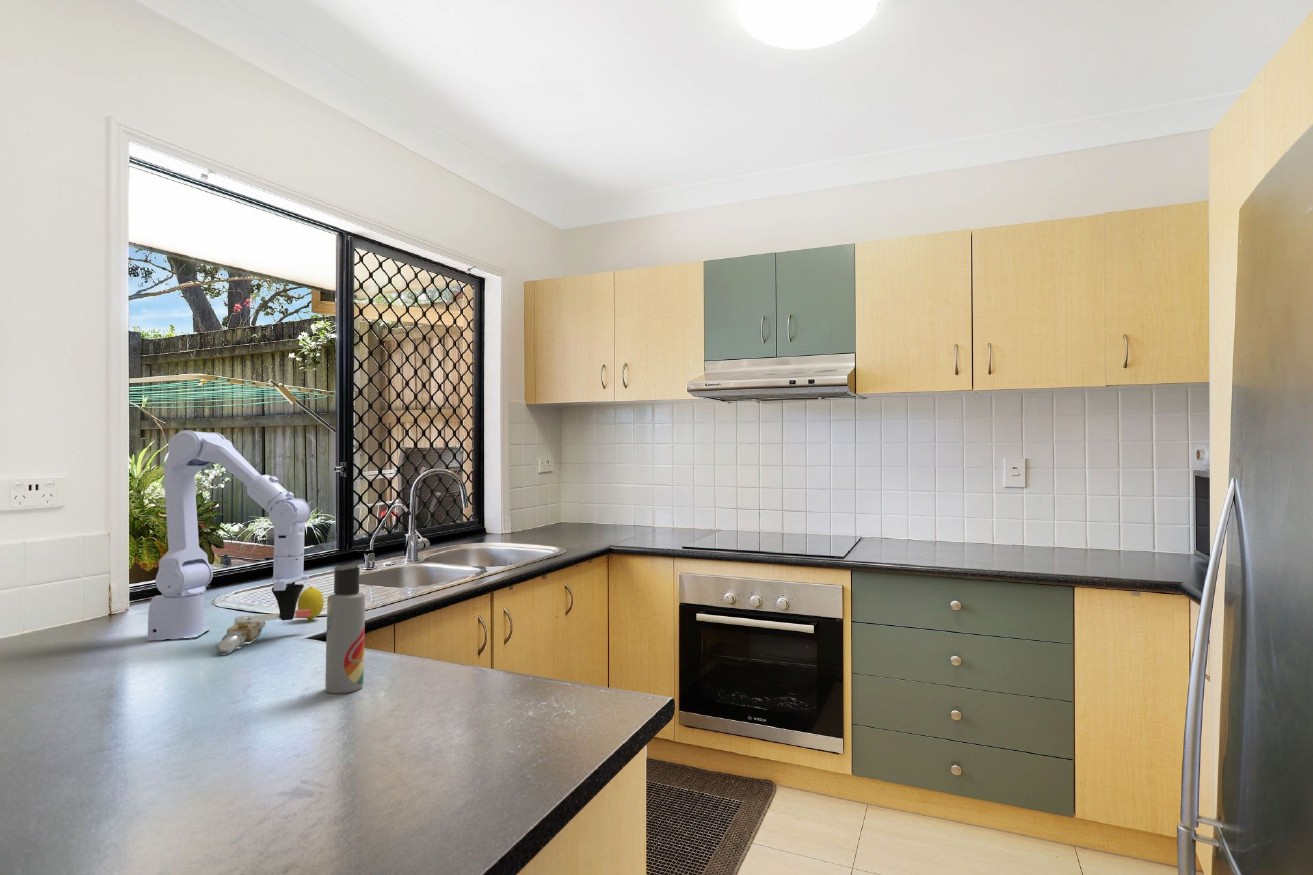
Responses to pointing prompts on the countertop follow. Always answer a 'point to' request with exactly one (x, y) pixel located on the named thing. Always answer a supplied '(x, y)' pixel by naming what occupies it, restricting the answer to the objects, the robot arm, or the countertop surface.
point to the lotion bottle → (345, 632)
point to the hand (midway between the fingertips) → (287, 619)
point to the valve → (239, 636)
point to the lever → (269, 617)
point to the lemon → (311, 602)
